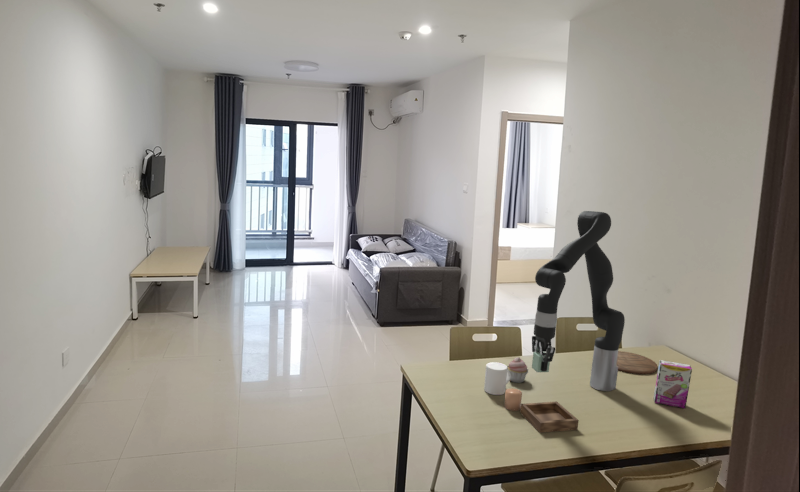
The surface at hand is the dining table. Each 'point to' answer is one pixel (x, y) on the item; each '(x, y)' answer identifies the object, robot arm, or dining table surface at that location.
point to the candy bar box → (672, 384)
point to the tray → (549, 417)
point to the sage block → (538, 362)
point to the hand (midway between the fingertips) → (540, 368)
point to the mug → (496, 378)
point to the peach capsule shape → (513, 399)
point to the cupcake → (517, 370)
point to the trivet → (635, 363)
